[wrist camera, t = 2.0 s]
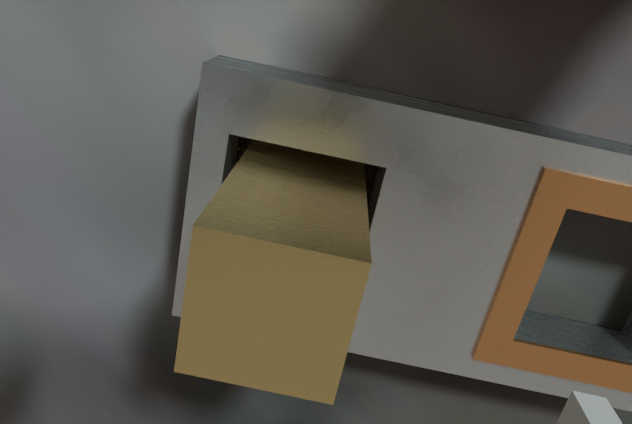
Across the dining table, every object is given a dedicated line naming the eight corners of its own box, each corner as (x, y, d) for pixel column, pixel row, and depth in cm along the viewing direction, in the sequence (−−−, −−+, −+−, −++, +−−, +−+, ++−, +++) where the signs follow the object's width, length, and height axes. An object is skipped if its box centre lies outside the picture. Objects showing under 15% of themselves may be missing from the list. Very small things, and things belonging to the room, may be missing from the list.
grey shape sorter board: (189, 284, 24) (170, 318, 21) (219, 55, 20) (201, 63, 18) (626, 376, 24) (658, 420, 22) (735, 167, 21) (788, 191, 18)
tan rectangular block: (238, 236, 23) (173, 371, 15) (255, 136, 21) (193, 225, 13) (340, 257, 23) (332, 405, 15) (364, 160, 21) (371, 263, 13)
